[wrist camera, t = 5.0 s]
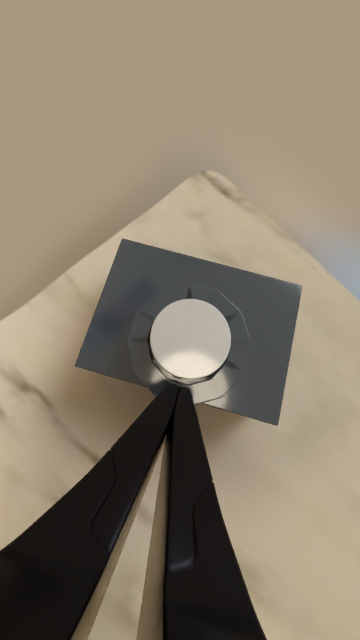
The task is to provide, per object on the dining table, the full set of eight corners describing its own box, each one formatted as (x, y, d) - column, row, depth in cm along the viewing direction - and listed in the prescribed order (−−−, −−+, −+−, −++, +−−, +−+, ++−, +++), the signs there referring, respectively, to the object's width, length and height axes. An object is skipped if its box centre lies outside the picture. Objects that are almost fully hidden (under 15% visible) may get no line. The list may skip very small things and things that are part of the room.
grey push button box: (252, 414, 20) (293, 437, 13) (98, 368, 20) (57, 368, 13) (274, 304, 22) (319, 274, 15) (134, 266, 22) (115, 221, 16)
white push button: (214, 387, 14) (220, 389, 12) (144, 366, 14) (139, 366, 12) (231, 317, 15) (239, 310, 13) (165, 299, 15) (163, 289, 13)
